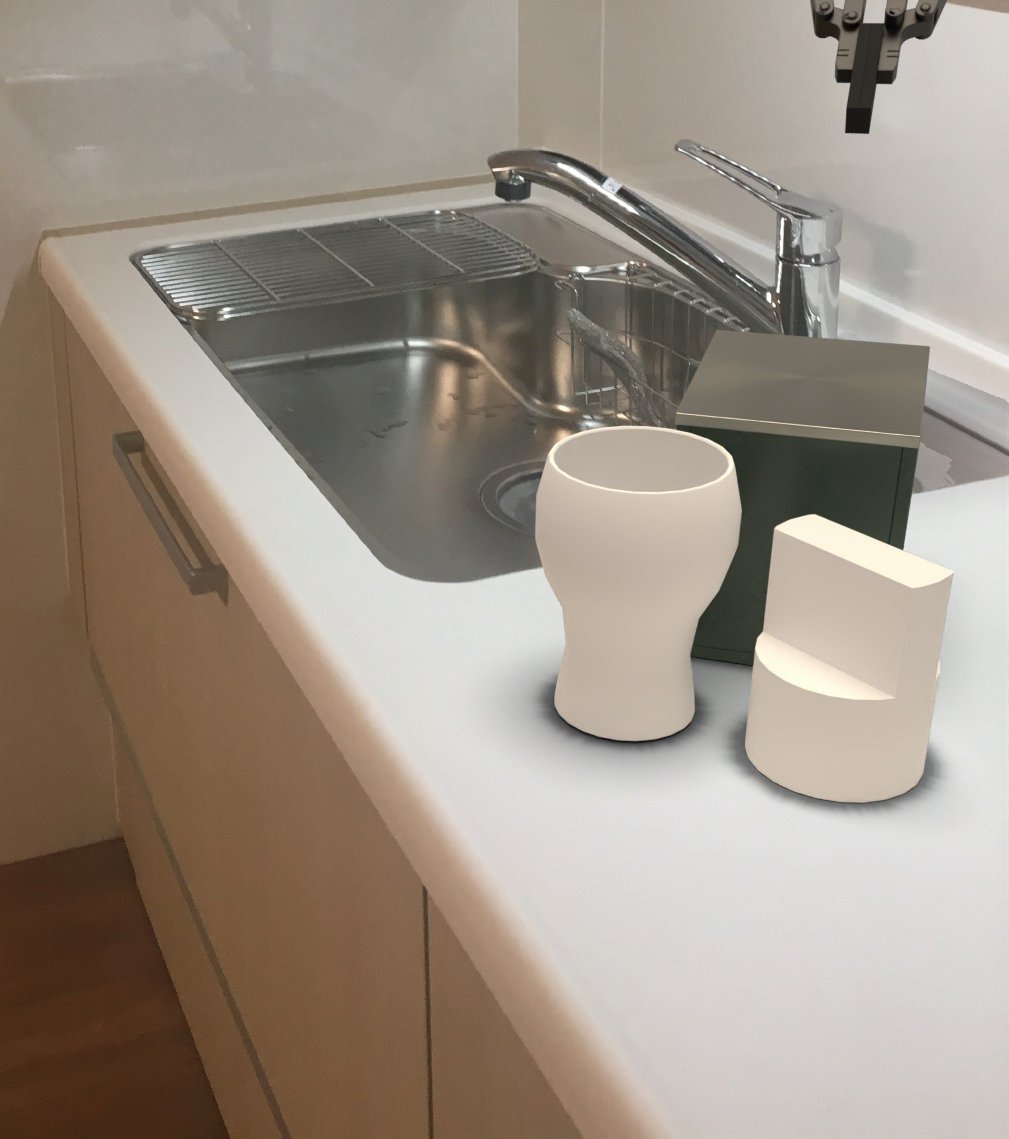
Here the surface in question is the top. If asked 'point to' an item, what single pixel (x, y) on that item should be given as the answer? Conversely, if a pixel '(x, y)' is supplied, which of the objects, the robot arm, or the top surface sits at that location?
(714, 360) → the bin lid
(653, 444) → the cup
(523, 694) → the top surface
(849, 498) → the bin
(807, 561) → the base with upright slab
